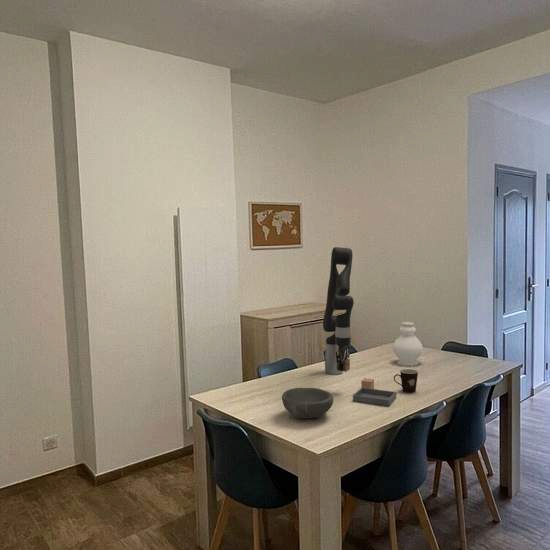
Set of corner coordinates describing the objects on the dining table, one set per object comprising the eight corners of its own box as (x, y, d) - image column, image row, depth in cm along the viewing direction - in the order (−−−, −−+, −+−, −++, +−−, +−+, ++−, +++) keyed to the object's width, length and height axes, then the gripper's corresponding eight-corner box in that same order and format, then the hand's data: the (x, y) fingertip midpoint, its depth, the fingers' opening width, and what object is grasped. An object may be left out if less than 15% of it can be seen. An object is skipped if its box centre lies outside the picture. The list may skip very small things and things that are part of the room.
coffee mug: (418, 389, 247) (418, 369, 246) (417, 394, 239) (417, 374, 238) (394, 387, 251) (394, 368, 250) (393, 392, 243) (393, 372, 242)
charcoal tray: (352, 401, 230) (352, 395, 230) (361, 393, 242) (361, 387, 242) (388, 406, 222) (388, 400, 222) (396, 398, 234) (396, 391, 234)
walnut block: (336, 370, 242) (336, 360, 242) (340, 367, 247) (340, 358, 246) (346, 371, 240) (346, 361, 239) (349, 369, 244) (349, 359, 244)
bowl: (338, 424, 202) (338, 401, 202) (284, 427, 201) (284, 403, 200) (328, 405, 225) (327, 384, 224) (279, 408, 223) (279, 386, 223)
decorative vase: (401, 368, 287) (401, 326, 285) (387, 360, 304) (387, 321, 302) (428, 365, 291) (428, 324, 289) (413, 358, 308) (413, 319, 307)
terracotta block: (361, 390, 247) (361, 380, 247) (364, 387, 252) (364, 378, 251) (371, 391, 245) (370, 381, 244) (374, 388, 249) (373, 379, 249)
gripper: (341, 332, 250) (341, 364, 251) (330, 337, 237) (330, 371, 239) (355, 333, 246) (355, 366, 248) (344, 339, 234) (345, 373, 235)
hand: (343, 368), depth 243 cm, fingers closed on walnut block, 5 cm apart
